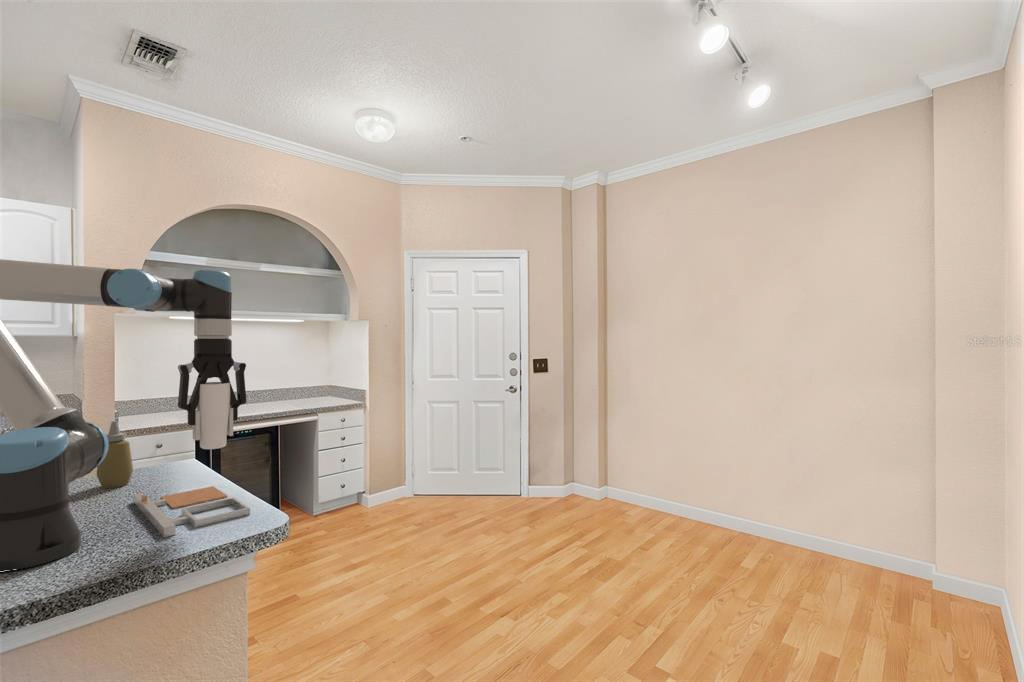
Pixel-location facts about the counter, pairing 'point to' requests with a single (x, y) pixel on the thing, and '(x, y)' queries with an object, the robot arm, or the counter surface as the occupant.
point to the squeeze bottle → (116, 460)
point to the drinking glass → (214, 414)
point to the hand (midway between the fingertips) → (213, 436)
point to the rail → (188, 508)
